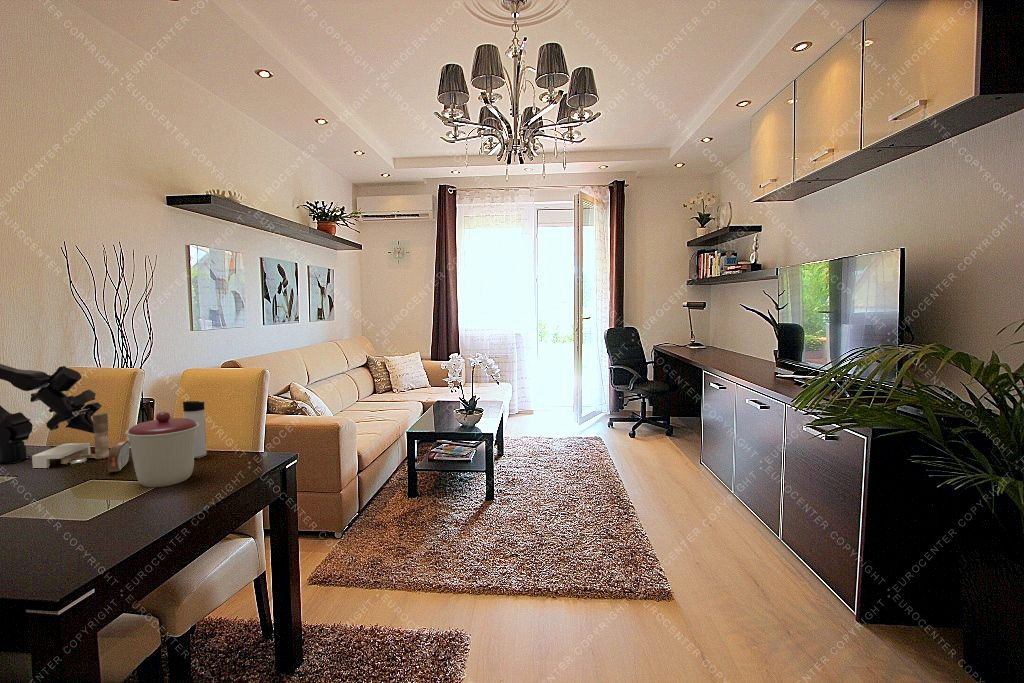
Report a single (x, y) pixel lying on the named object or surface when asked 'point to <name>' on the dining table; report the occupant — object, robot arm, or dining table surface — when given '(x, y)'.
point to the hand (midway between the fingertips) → (95, 432)
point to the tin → (118, 455)
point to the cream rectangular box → (59, 453)
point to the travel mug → (197, 414)
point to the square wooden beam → (100, 440)
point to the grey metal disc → (78, 460)
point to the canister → (163, 450)
